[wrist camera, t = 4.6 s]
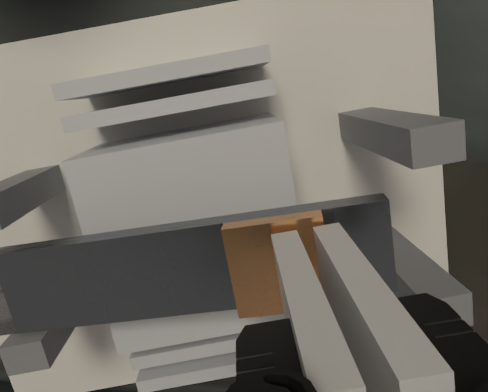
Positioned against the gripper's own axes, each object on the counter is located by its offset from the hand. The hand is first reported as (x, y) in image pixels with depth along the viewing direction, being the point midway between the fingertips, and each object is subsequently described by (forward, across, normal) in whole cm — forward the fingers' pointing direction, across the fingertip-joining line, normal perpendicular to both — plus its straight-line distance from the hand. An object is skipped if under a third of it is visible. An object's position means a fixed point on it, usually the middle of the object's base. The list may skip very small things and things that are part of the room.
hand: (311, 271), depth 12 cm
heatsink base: (+10, -4, 0) cm, 10 cm away
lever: (+2, -4, 0) cm, 5 cm away
